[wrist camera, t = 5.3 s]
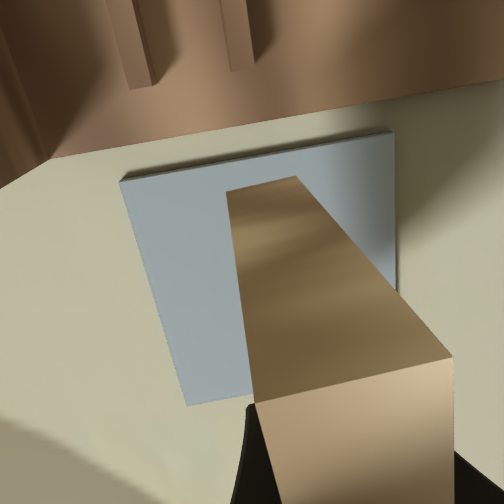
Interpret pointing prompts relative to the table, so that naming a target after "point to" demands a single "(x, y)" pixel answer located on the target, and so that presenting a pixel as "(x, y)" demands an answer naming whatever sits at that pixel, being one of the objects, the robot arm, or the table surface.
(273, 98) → the walnut rack
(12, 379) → the table surface
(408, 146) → the table surface
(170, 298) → the slate mat
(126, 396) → the table surface
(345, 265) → the plywood sheet
